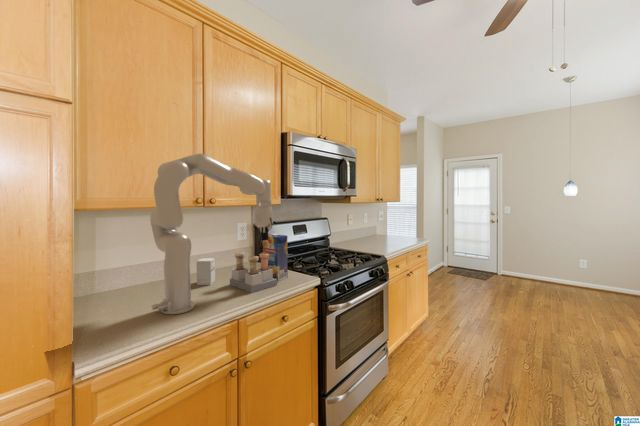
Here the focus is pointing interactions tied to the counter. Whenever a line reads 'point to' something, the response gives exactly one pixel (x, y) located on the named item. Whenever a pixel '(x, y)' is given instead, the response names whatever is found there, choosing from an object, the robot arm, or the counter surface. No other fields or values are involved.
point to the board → (252, 280)
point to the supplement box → (205, 271)
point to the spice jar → (253, 264)
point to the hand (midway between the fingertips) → (264, 239)
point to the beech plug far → (240, 261)
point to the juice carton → (277, 255)
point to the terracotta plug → (264, 261)
